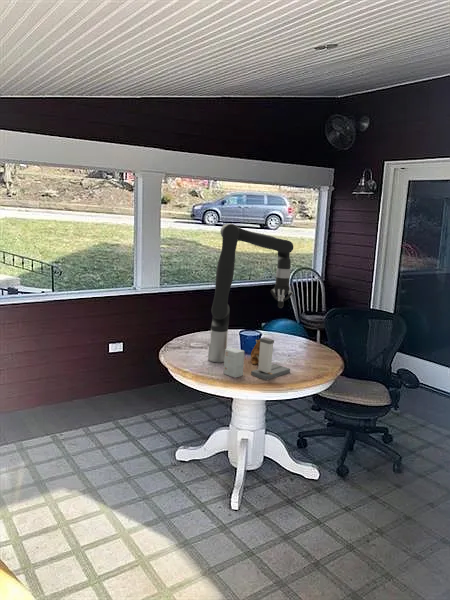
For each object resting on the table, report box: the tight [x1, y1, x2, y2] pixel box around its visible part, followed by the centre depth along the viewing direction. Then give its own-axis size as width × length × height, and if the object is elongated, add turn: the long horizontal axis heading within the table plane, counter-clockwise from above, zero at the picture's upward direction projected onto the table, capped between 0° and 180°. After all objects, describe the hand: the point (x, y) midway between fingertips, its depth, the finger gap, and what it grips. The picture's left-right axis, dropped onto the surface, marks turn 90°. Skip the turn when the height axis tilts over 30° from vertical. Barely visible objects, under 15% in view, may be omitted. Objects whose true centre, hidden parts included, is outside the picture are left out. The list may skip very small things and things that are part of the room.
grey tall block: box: [257, 336, 275, 373], centre depth 252 cm, size 4×6×17 cm, turn 47°
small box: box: [223, 347, 245, 378], centre depth 251 cm, size 8×6×13 cm
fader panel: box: [250, 363, 291, 381], centre depth 257 cm, size 20×10×2 cm, turn 137°
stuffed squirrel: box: [250, 339, 260, 366], centre depth 276 cm, size 10×14×13 cm
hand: (280, 307), depth 273 cm, fingers closed
